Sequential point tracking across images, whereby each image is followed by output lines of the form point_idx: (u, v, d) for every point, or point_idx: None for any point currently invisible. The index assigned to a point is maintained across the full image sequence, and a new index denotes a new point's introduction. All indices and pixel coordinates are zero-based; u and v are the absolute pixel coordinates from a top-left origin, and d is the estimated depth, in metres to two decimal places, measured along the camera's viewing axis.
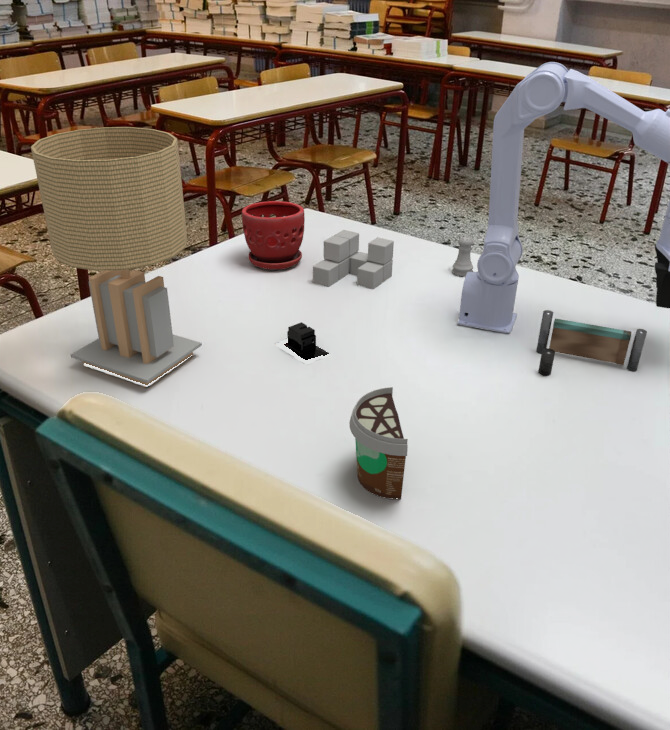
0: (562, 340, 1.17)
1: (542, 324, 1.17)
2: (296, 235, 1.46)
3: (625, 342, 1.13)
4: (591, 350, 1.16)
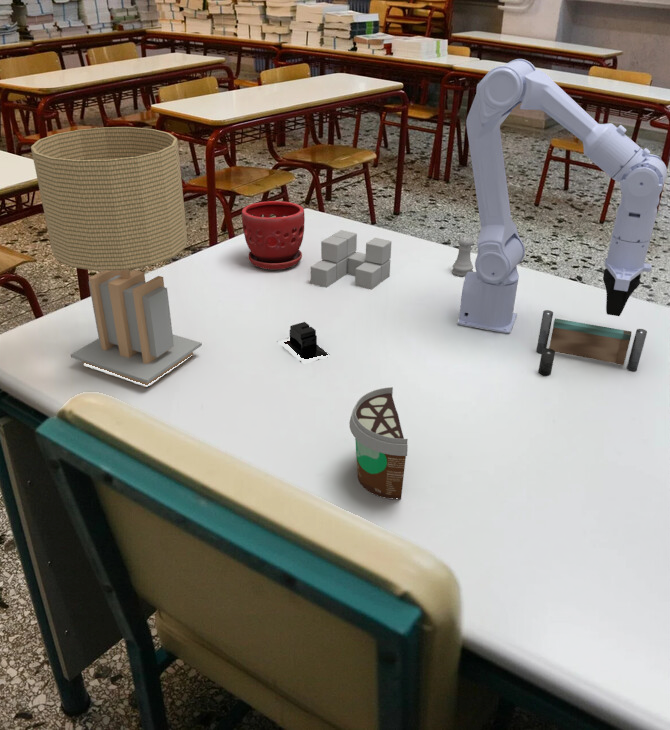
0: (562, 340, 1.17)
1: (542, 324, 1.17)
2: (296, 235, 1.46)
3: (625, 342, 1.13)
4: (591, 350, 1.16)
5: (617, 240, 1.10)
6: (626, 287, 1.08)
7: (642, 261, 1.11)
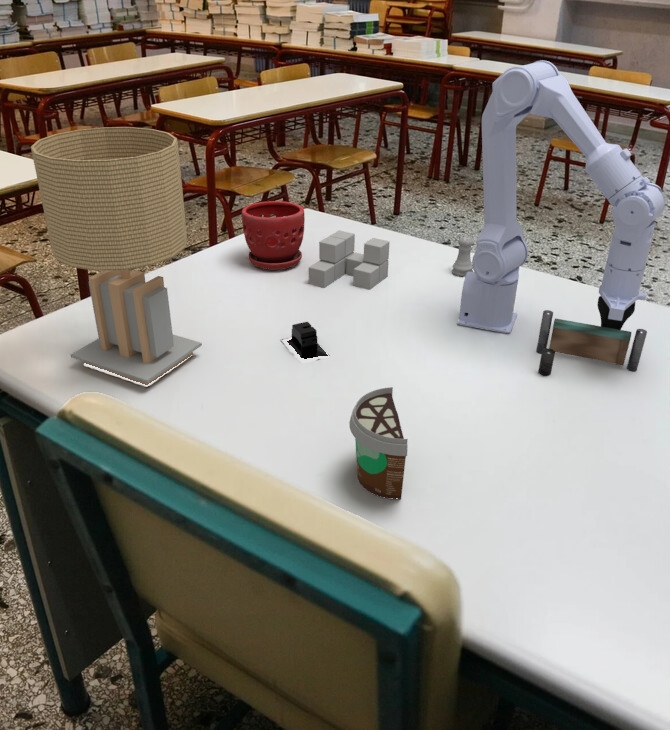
0: (562, 340, 1.17)
1: (542, 324, 1.17)
2: (296, 235, 1.46)
3: (624, 342, 1.13)
4: (591, 350, 1.16)
5: (611, 268, 1.09)
6: (620, 317, 1.07)
7: (637, 290, 1.09)
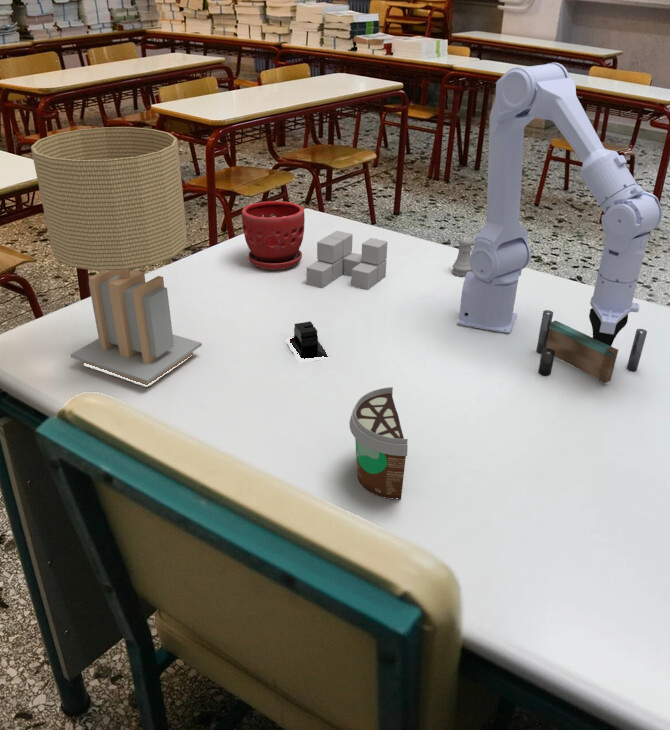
0: (556, 343, 1.16)
1: (542, 324, 1.17)
2: (296, 235, 1.46)
3: (607, 358, 1.09)
4: (579, 360, 1.13)
5: (603, 280, 1.05)
6: (612, 330, 1.03)
7: (629, 302, 1.06)
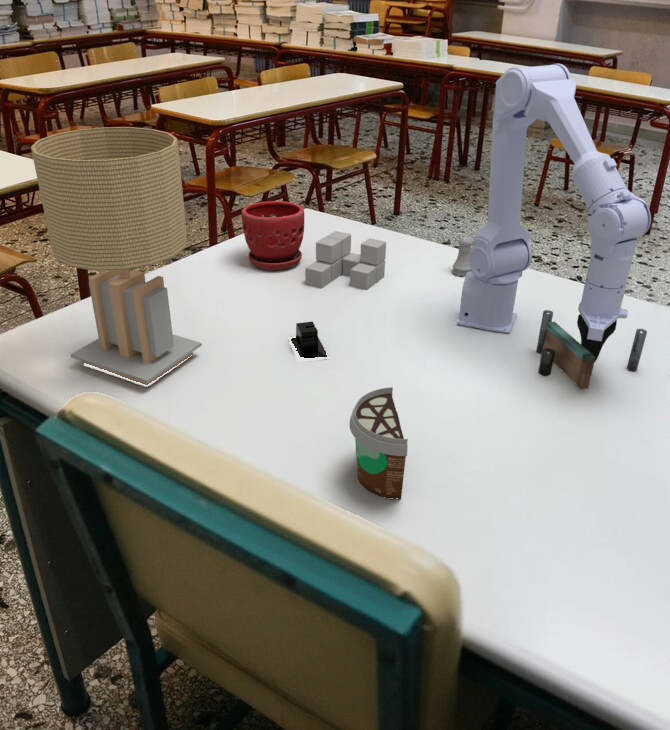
0: (550, 344, 1.16)
1: (542, 324, 1.17)
2: (296, 235, 1.46)
3: (583, 364, 1.07)
4: (565, 363, 1.12)
5: (591, 285, 1.03)
6: (600, 337, 1.01)
7: (618, 308, 1.04)
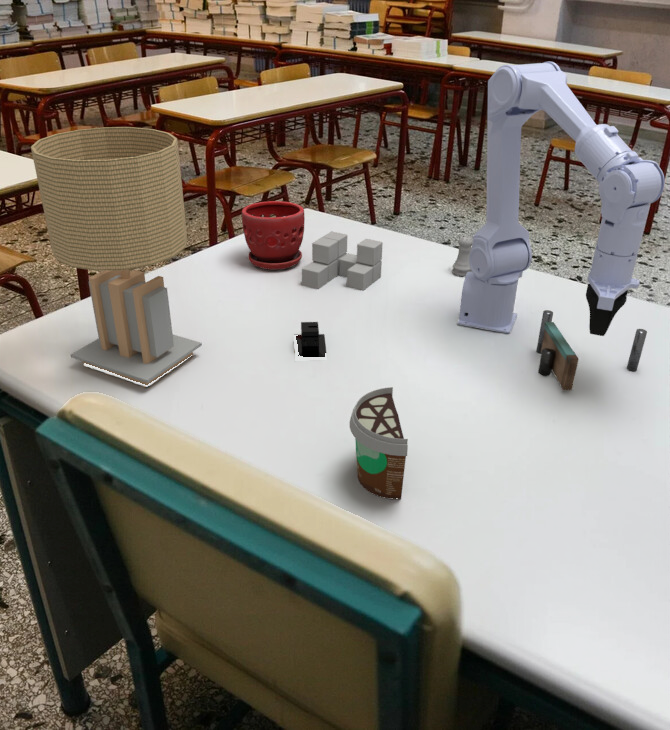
0: (546, 344, 1.16)
1: (542, 324, 1.17)
2: (296, 235, 1.46)
3: (566, 364, 1.07)
4: (554, 363, 1.12)
5: (601, 253, 0.99)
6: (610, 306, 0.97)
7: (629, 277, 1.00)
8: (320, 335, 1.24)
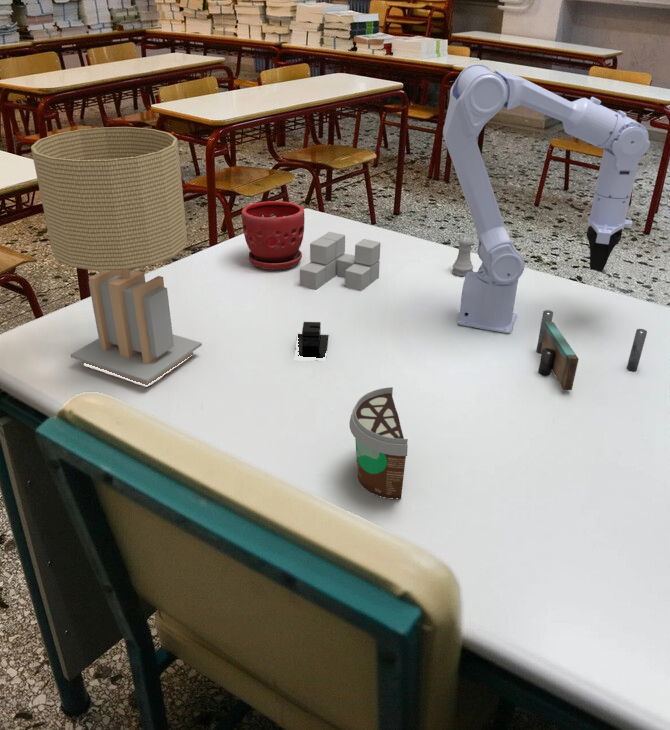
0: (546, 344, 1.16)
1: (542, 324, 1.17)
2: (296, 235, 1.46)
3: (566, 364, 1.07)
4: (554, 363, 1.12)
5: (599, 197, 1.17)
6: (607, 240, 1.15)
7: (623, 217, 1.18)
8: (324, 336, 1.24)
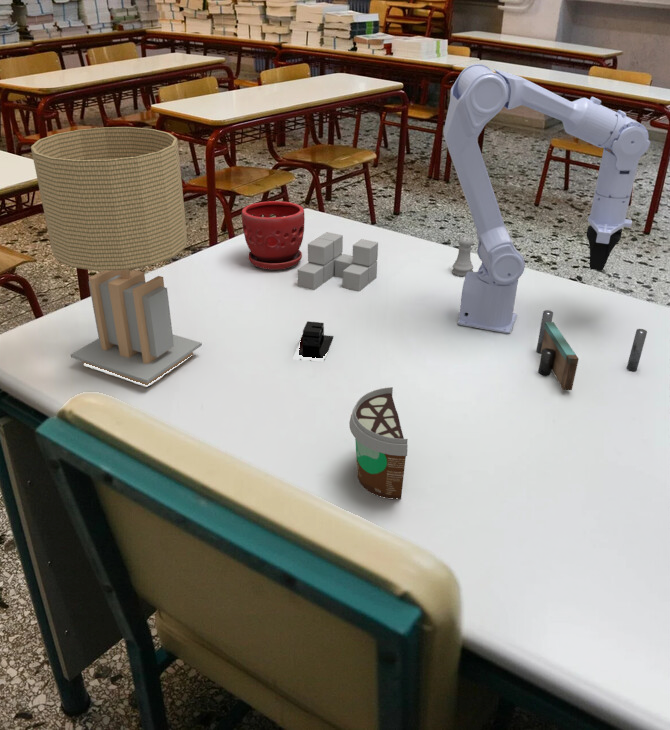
0: (546, 344, 1.16)
1: (542, 324, 1.17)
2: (296, 235, 1.46)
3: (566, 364, 1.07)
4: (554, 363, 1.12)
5: (599, 196, 1.17)
6: (607, 240, 1.15)
7: (623, 217, 1.18)
8: (329, 337, 1.24)
